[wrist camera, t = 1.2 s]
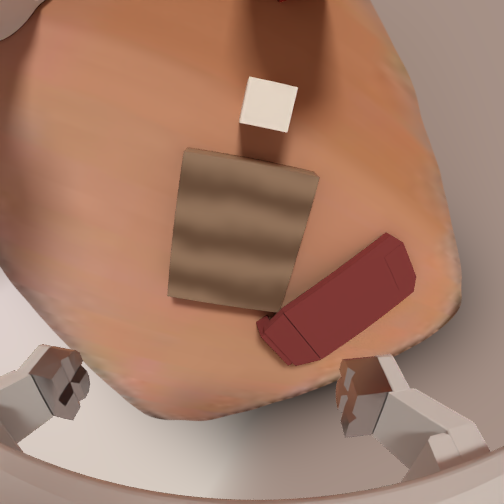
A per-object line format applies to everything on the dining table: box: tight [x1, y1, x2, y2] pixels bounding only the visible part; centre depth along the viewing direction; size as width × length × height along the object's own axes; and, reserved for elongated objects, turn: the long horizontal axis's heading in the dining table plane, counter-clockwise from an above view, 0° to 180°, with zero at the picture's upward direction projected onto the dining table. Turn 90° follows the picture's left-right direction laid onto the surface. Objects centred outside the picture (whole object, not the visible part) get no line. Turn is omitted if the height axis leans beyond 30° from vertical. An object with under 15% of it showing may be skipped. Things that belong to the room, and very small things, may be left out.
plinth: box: [167, 148, 320, 313], centre depth 41 cm, size 20×16×3 cm
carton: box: [256, 233, 416, 366], centre depth 47 cm, size 12×5×25 cm
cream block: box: [239, 77, 298, 132], centre depth 32 cm, size 5×5×6 cm
